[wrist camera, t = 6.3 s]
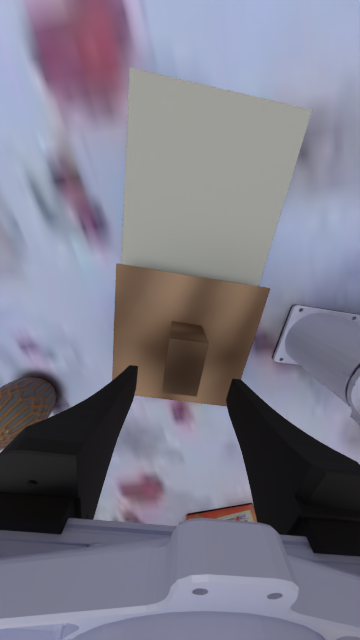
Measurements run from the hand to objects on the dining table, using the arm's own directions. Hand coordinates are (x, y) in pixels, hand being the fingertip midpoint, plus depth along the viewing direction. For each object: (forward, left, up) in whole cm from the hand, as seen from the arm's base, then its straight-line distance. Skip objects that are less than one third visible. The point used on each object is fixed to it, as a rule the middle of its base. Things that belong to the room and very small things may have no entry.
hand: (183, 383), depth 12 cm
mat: (0, -15, -10) cm, 18 cm away
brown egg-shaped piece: (+19, +12, -10) cm, 25 cm away
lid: (0, -1, -6) cm, 6 cm away
